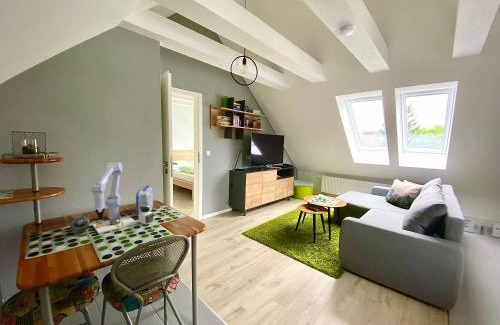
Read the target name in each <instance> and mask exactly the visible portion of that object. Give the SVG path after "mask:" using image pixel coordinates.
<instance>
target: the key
mask: <svg viewBox="0 0 500 325" xmlns="http://www.w3.org/2000/svg"><path fill="white" fill-rule="evenodd" d="M120 218H121V217H119V218H114V219H109V221H108V220H105V222H104V221H99V222H100V223H99V222H96V227H97V228H98V227H102V226H106V225H116V224H119V223H120Z"/></svg>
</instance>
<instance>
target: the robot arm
mask: <svg viewBox="0 0 500 325" xmlns="http://www.w3.org/2000/svg"><path fill="white" fill-rule="evenodd" d="M105 169H106V170H105V171H104V174H103V175H102V176H100V178H99V179H98V180H97V182H96V183H95V184H94V185H93V186H92V187H91V192H92V195H93V197H94V199H93V200H94V206H93V207H92V209H93V210H94V212H95V213H96V215H97V218H98V220H103V218H104V212H105V211H106V210H105V208H106V207H107V212H108V214H107V216H106V217H107V218H108V219H109V220H111V219H114V218H121V217H122V215H120V206H121V204H122V196H121V195H120V194H119V188H120V179H121V174H123V164H122V163H121V162H107V163H106V166H105ZM111 175H112V180H111V187H110V188H111V189H110V194H108V195H107V196H106V199H105V194H104V192H105V191H106V187H107V184H108V182H109V178H110V177H111Z"/></svg>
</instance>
